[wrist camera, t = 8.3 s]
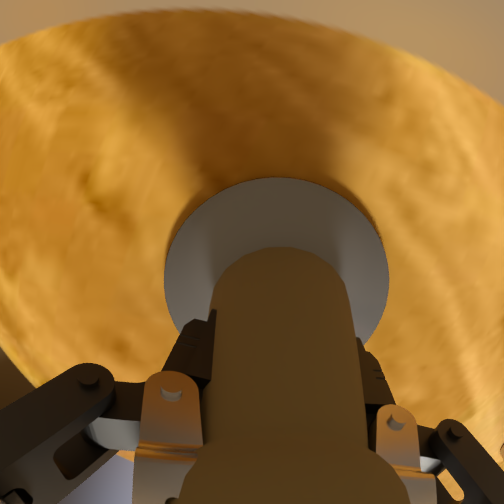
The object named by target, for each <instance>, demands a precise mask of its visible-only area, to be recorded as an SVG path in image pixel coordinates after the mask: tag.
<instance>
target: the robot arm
mask: <svg viewBox="0 0 504 504" xmlns="http://www.w3.org/2000/svg"><path fill="white" fill-rule="evenodd" d="M216 315H217V310H216V309H212V310H211V312H210V315H209V317H208V320H207V321H203V320H199V319H195V318H194V319H193V320H191V321H190V322H188V323H187V324H185V325H184V327H183V329H182V331H181V333H180V335H179V337H178V339H177V341H176V343H175V345H174V347H173V349H172V351H171V353H170V355H169V357H168V359H167V361H166V363H165V365H164V367H163V369H162V371H161V372H157V373H155V374H153V375H151V376H150V377H149V378H148V379H147V381H146V382H141V383H129V382H118V381H114V377H113V375H112V374H111V372H110V371H109V370H108V369H106V368H105V367H103V366H101V365H98V364H94V363H82V364H78V365H75V366H73V367H72V368H70V369H68V370H67V371H65V372H63V373H62V374H60V375H58V376H57V377H55V378H53V379H52V380H50V381H48V382H47V383H45V384H43V385H42V386H40V387H38V388H37V389H35V390H33V391H32V392H30V393H28V394H27V395H25V396H23V397H22V398H20V399H18V400H17V401H15V402H13V403H11V404H10V405H8V406H6V407H5V408H3V409H1V410H0V504H57V503H58V502H59V501H61V500H62V499H63V498H64V497H65V496H67V495H68V494H69V493H71V492H72V491H73V490H74V489H75V488H76V487H78V486H79V485H80V484H81V483H83V482H84V481H85V480H86V479H87V478H88V477H90V476H91V475H92V474H93V473H94V472H95V471H97V470H98V469H99V468H100V467H101V466H102V465H104V464H105V463H106V462H107V461H108V460H109V459H110V458H111V457H113V456H114V455H115V454H116V453H117V452H118V451H119V450H126V451H135V457H134V471H133V472H134V473H133V492H132V504H166V503H167V502H168V501H170V500H172V499H178V498H179V494H180V491H181V488H182V484H183V481H184V478H185V475H186V474H187V473H188V471H189V470H190V469H191V468H192V466H193V465H194V463H195V462H196V460H197V457H198V454H197V452H194V451H195V450H197V449H198V448H200V447H202V446H203V439H202V428H201V417H200V405H201V401H202V397H203V389H204V388H205V387H206V386H207V385H208V383H209V382H210V381H211V378H212V364H213V351H214V339H215V327H216ZM356 342H357V348H358V355H359V362H360V370H361V378H362V386H363V395H364V404H365V410H366V420H367V432H368V445H369V449H370V450H371V451H373V452H375V453H376V454H378V455H380V456H381V457H382V458H383V459H384V460H385V461H386V462H388V463H389V464H390V465H391V466H392V467H393V468H394V470H395V471H396V473H397V474H398V476H399V477H400V479H401V480H402V482H403V483H404V485H405V486H406V489H407V492H408V496H409V499H410V503H411V504H504V471H503V470H502V469H501V468H500V467H499V465H498V464H497V463H496V462H495V461H494V460H493V458H492V457H491V456H490V455H489V454H488V452H487V451H486V450H485V449H484V448H483V447H482V445H481V444H480V443H479V442H478V441H477V440H476V439H475V437H474V436H473V435H472V434H471V433H470V432H469V431H468V429H467V428H466V427H465V426H464V425H463V424H461V423H460V422H458V421H456V420H453V419H445V420H443V421H441V422H440V423H439V425H438V426H437V427H436V428H435V429H432V428H428V427H424V426H420V425H417V423H416V420H415V418H414V416H413V415H412V414H411V413H410V412H409V411H408V410H407V409H405V408H403V407H401V406H398V405H396V403H395V401H394V398H393V396H392V393H391V391H390V388H389V386H388V384H387V381H386V380H385V376H384V374H383V372H382V369H381V367H380V364H379V362H378V360H377V359H376V358H375V357H374V356H373V355H372V354H371V353H370V352H366V351H365V348H364V346H363V344H362V341H361V339H360V338H359V337H356ZM500 454H501V456H502V458H503V460H504V445H503V447H502V448H501V451H500ZM445 469H447V470H448V471H449V473H450V474H451V475H452V477H453V478H454V479H455V481H456V482H457V483H458V484H459V486H460V487H461V488H462V490H463V492H464V499H463V500H461V501H456V500H454V499H453V498H452V497H451V495H450V494H449V493H448V491H447V490H446V489H445V487H444V486H443V485H442V483H441V482H440V480H439V479H438V478H437V476H438V475H439V474H440V473H441V472H443V471H444V470H445Z"/></svg>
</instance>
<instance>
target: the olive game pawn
mask: <svg viewBox="0 0 504 504" xmlns="http://www.w3.org/2000/svg"><path fill="white" fill-rule="evenodd" d="M212 309H216V310H217V315H216V327H215V339H214V351H213V364H212V378H211V381H210V382H209V383H208V385H207V386H206V387H205V388H204V389H203V397H202V401H201V405H200V417H201V428H202V439H203V446H202V447H200V448H198V449H197V450H195V451H194V452H197V454H198V457H197V460H196V462H195V463H194V465H193V466H192V468H191V469H190V470H189V471H188V473H187V474H186V475H185V478H184V481H183V484H182V488H181V491H180V494H179V498H178V499H172V500H170V501H168V502H167V503H166V504H411V503H410V499H409V496H408V492H407V489H406V486H405V485H404V483H403V482H402V480H401V479H400V477H399V476H398V474H397V473H396V471H395V470H394V468H393V467H392V466H391V465H390V464H389V463H388V462H386V461H385V460H384V459H383V458H382V457H381V456H380V455H378V454H376V453H375V452H373V451H371V450H370V449H369V445H368V432H367V420H366V410H365V404H364V395H363V386H362V378H361V370H360V362H359V355H358V348H357V342H356V335H355V329H354V323H353V318H352V312H351V307H350V301H349V298H348V294H347V290H346V286H345V283H344V281H343V280H342V279H341V277H340V276H339V274H338V273H337V272H336V270H335V269H334V268H333V266H332V265H330V264H329V263H327V262H326V261H324V260H323V259H321V258H320V257H319V256H317V255H316V254H314V253H311V252H308V251H304V250H301V249H297V248H294V247H266V248H263V249H260V250H257V251H255V252H252V253H249V254H246V255H243V256H242V257H241V258H239V259H238V260H237V261H235V262H234V263H233V264H231V265H230V266H229V267H228V268H226V269H225V271H224V272H223V274H222V275H221V277H220V278H219V280H218V281H217V283H216V284H215V286H214V289H213V293H212V298H211V302H210V307H209V313H208V317H209V315H210V312H211V310H212Z"/></svg>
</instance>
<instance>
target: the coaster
mask: <svg viewBox="0 0 504 504" xmlns="http://www.w3.org/2000/svg"><path fill="white" fill-rule="evenodd" d="M266 247H294V248H297V249H301V250H304V251H308V252H311V253H314V254H316V255H317V256H319V257H320V258H321V259H323V260H324V261H326V262H327V263H329V264H330V265H332V266H333V268H334V269H335V270H336V272H337V273H338V274H339V276H340V277H341V279H342V280H343V281H344V283H345V286H346V290H347V294H348V298H349V301H350V307H351V312H352V318H353V323H354V329H355V335H356V337H359V338H360V339H361V341H362V344H363V345H364V344H365V343H366V342H367V341H368V339H369V338H370V336H371V335H372V334H373V332H374V331H375V329H376V327H377V325H378V323H379V321H380V319H381V317H382V314H383V311H384V309H385V306H386V301H387V296H388V290H389V271H388V263H387V258H386V254H385V251H384V248H383V246H382V243H381V241H380V238H379V236H378V235H377V233H376V231H375V229H374V228H373V226H372V225H371V223H370V222H369V221H368V220H367V218H366V217H365V216H364V215H363V213H361V212H360V211H359V210H358V209H357V208H356V207H355V206H354V205H353V204H352V203H350V202H349V201H348V200H346V199H345V198H343V197H342V196H340V195H339V194H337V193H336V192H334V191H332V190H330V189H327V188H325V187H323V186H321V185H318V184H315V183H312V182H309V181H306V180H301V179H295V178H288V177H268V178H259V179H254V180H250V181H246V182H242V183H239V184H236V185H234V186H231V187H229V188H227V189H225V190H223V191H221V192H219V193H218V194H216V195H214V196H213V197H211V198H209V199H208V200H207V201H206V202H204V203H203V204H202V205H201V206H199V207H198V208H197V209H196V210H195V211H194V212H193V213H192V214H191V215H190V216H189V217H188V218H187V219H186V221H185V222H184V224H183V225H182V226H181V228H180V229H179V231H178V232H177V234H176V236H175V238H174V240H173V242H172V244H171V247H170V250H169V253H168V256H167V259H166V265H165V271H164V290H165V298H166V302H167V306H168V310H169V313H170V315H171V318H172V320H173V322H174V324H175V326H176V328H177V330H178V331H179V333H181V331H182V329H183V327H184V325H185V324H187V323H188V322H190V321H191V320H193V319H194V318H195V319H199V320H203V321H207V320H208V313H209V307H210V302H211V298H212V293H213V289H214V286H215V284H216V283H217V281H218V280H219V278H220V277H221V275H222V274H223V272H224V271H225V269H226V268H228V267H229V266H230V265H231V264H233V263H234V262H235V261H237V260H238V259H239V258H241V257H242V256H243V255H246V254H249V253H252V252H255V251H257V250H260V249H263V248H266Z"/></svg>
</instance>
